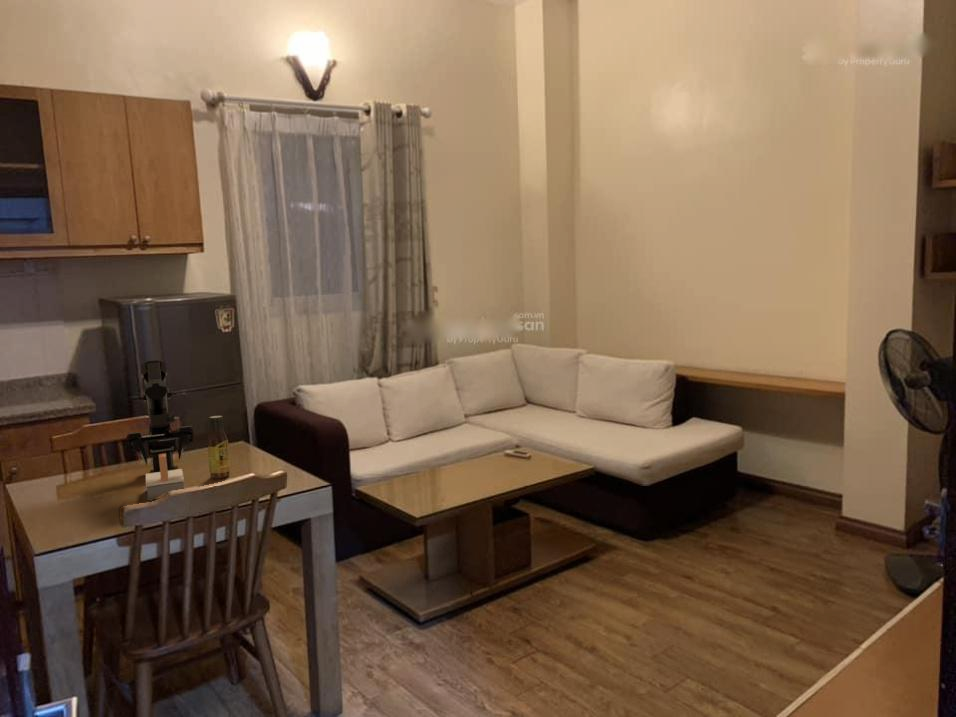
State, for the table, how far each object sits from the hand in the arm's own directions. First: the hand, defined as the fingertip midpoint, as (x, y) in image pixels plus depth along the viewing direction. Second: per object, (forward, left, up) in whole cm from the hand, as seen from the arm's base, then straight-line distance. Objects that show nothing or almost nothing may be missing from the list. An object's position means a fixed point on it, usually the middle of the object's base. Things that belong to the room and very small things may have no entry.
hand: (163, 460), depth 216 cm
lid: (-1, -1, -6) cm, 6 cm away
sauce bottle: (-19, +6, -10) cm, 22 cm away
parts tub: (-1, -1, -10) cm, 10 cm away
